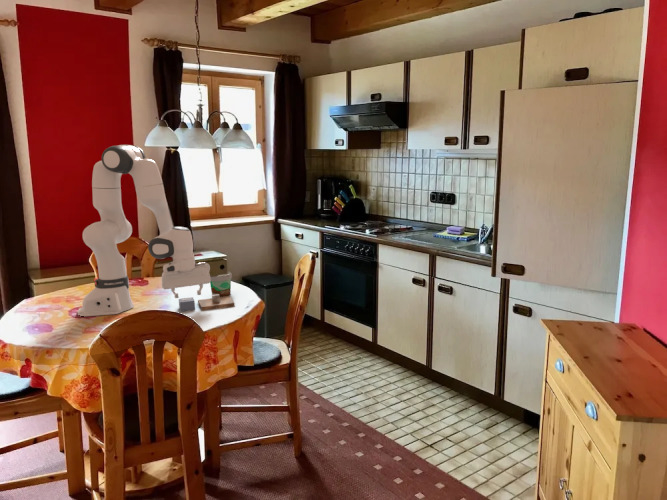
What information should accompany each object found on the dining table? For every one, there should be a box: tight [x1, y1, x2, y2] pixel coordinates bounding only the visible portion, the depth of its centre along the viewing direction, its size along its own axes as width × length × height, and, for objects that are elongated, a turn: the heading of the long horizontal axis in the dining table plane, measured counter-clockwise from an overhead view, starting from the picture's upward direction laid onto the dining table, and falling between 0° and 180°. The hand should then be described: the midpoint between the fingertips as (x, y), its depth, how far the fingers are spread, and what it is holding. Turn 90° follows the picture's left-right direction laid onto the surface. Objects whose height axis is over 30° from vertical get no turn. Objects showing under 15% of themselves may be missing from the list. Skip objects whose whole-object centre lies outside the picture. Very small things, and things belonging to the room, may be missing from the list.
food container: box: [209, 271, 233, 297], centre depth 251 cm, size 12×6×10 cm, turn 143°
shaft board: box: [197, 294, 236, 311], centre depth 236 cm, size 14×12×4 cm
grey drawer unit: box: [178, 296, 196, 312], centre depth 231 cm, size 6×6×4 cm
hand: (188, 296), depth 230 cm, fingers open, 8 cm apart
